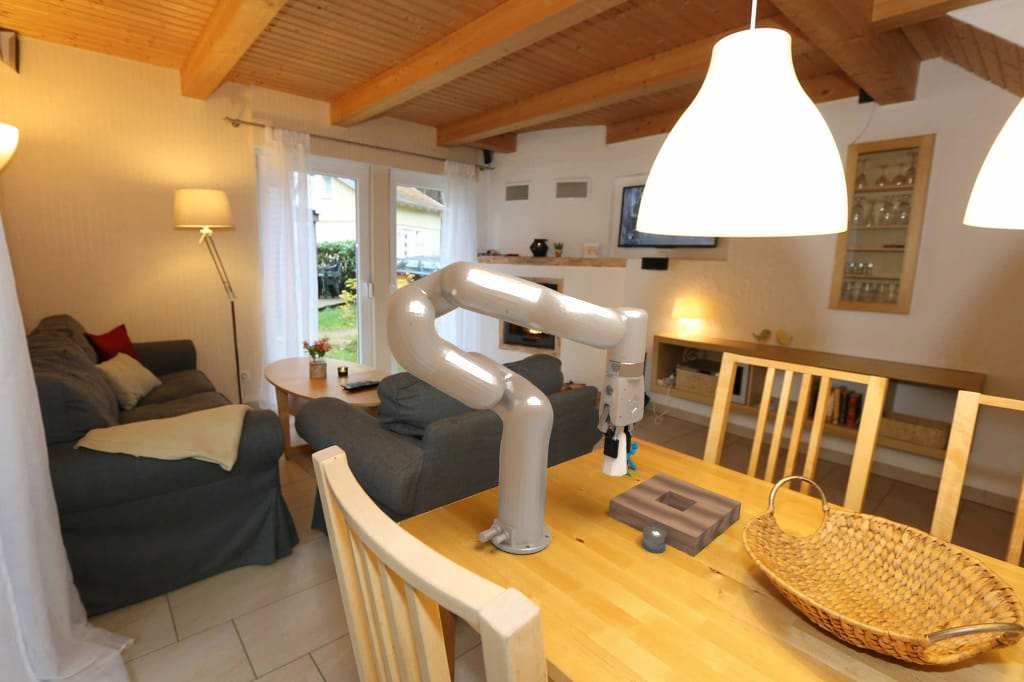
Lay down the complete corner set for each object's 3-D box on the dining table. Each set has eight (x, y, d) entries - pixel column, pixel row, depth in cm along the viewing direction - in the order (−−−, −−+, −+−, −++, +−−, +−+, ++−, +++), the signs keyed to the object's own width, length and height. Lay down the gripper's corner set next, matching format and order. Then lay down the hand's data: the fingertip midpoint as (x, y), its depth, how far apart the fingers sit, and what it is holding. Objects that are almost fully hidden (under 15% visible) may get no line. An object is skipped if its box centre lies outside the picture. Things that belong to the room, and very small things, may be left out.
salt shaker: (631, 475, 104) (636, 424, 102) (609, 478, 102) (613, 426, 100) (617, 464, 109) (621, 416, 107) (595, 467, 107) (599, 418, 105)
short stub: (658, 556, 97) (659, 537, 97) (637, 546, 101) (639, 528, 100) (669, 547, 100) (671, 529, 100) (649, 538, 104) (651, 520, 103)
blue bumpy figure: (610, 452, 144) (637, 434, 139) (624, 468, 144) (651, 450, 139) (603, 472, 134) (632, 453, 129) (618, 489, 134) (647, 471, 129)
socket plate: (693, 556, 98) (695, 537, 97) (608, 516, 112) (609, 499, 111) (739, 518, 113) (741, 502, 112) (659, 487, 127) (660, 472, 126)
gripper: (616, 377, 93) (608, 470, 96) (661, 367, 105) (653, 450, 108) (584, 369, 98) (577, 457, 102) (630, 360, 110) (623, 439, 113)
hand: (616, 453), depth 105 cm, fingers closed on salt shaker, 3 cm apart
